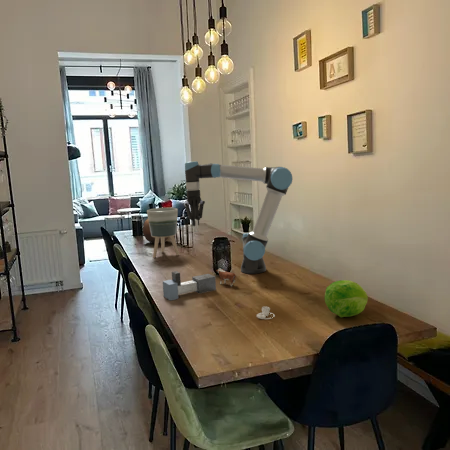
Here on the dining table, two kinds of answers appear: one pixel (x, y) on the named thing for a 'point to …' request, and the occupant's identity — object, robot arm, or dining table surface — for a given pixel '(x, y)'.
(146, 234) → the pottery
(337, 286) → the lettuce
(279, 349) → the dining table surface
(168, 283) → the blue-grey block
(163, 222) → the planter
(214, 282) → the grey rectangular block
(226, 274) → the bull figurine
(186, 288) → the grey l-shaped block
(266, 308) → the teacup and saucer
